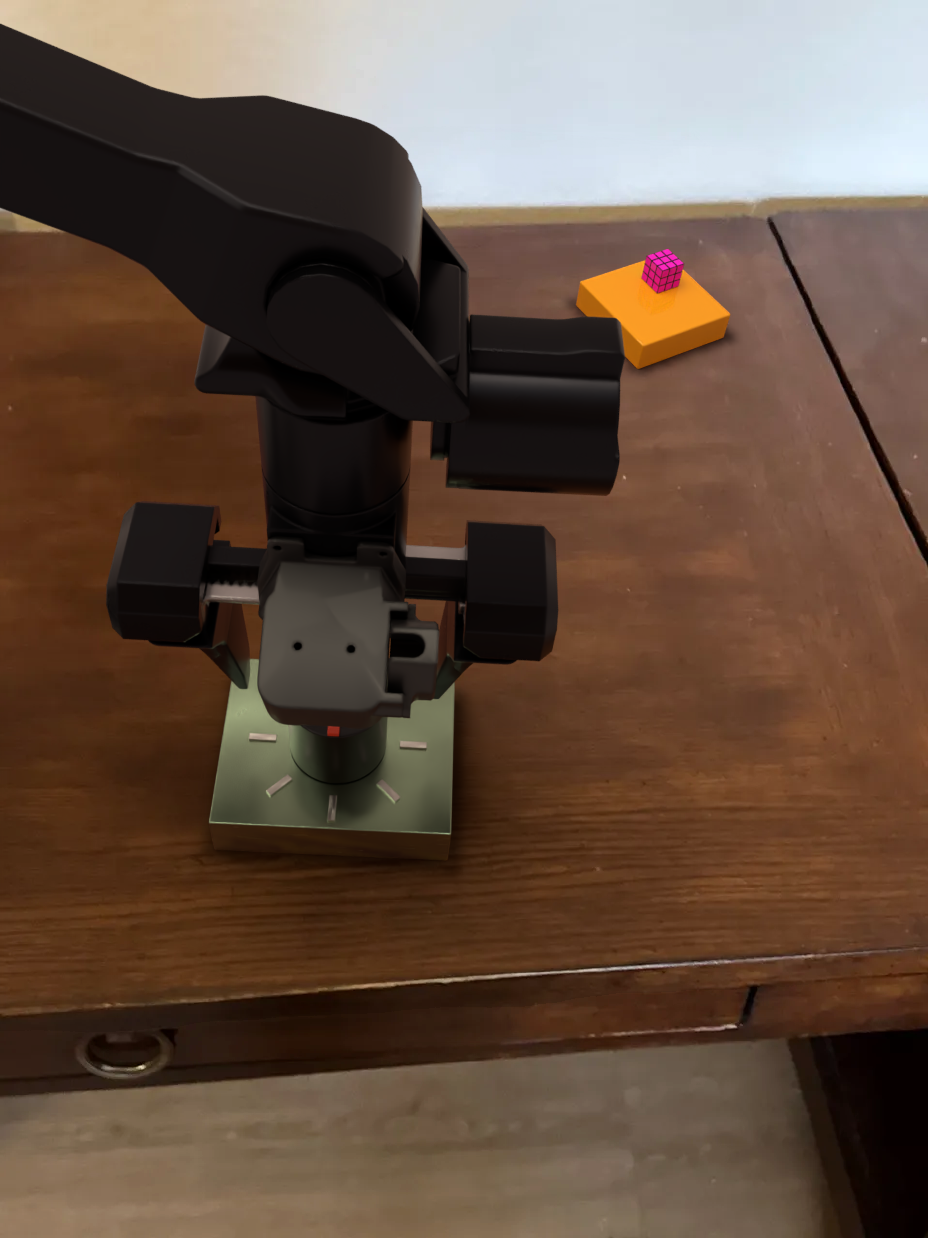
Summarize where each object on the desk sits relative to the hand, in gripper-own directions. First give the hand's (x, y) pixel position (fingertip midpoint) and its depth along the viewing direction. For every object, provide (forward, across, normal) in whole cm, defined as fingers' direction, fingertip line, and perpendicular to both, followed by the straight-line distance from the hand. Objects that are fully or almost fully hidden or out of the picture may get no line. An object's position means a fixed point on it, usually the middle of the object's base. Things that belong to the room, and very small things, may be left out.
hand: (340, 686), depth 59 cm
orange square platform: (+8, +20, +40) cm, 45 cm away
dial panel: (+8, 0, 0) cm, 8 cm away
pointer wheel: (+5, 0, 0) cm, 5 cm away
